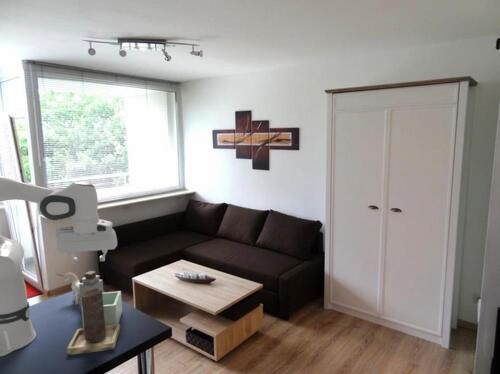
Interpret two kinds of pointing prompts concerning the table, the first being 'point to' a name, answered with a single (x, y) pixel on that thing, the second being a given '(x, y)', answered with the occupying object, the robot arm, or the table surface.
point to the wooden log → (93, 315)
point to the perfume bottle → (90, 283)
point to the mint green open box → (111, 308)
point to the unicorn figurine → (73, 285)
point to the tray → (83, 346)
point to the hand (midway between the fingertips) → (89, 261)
